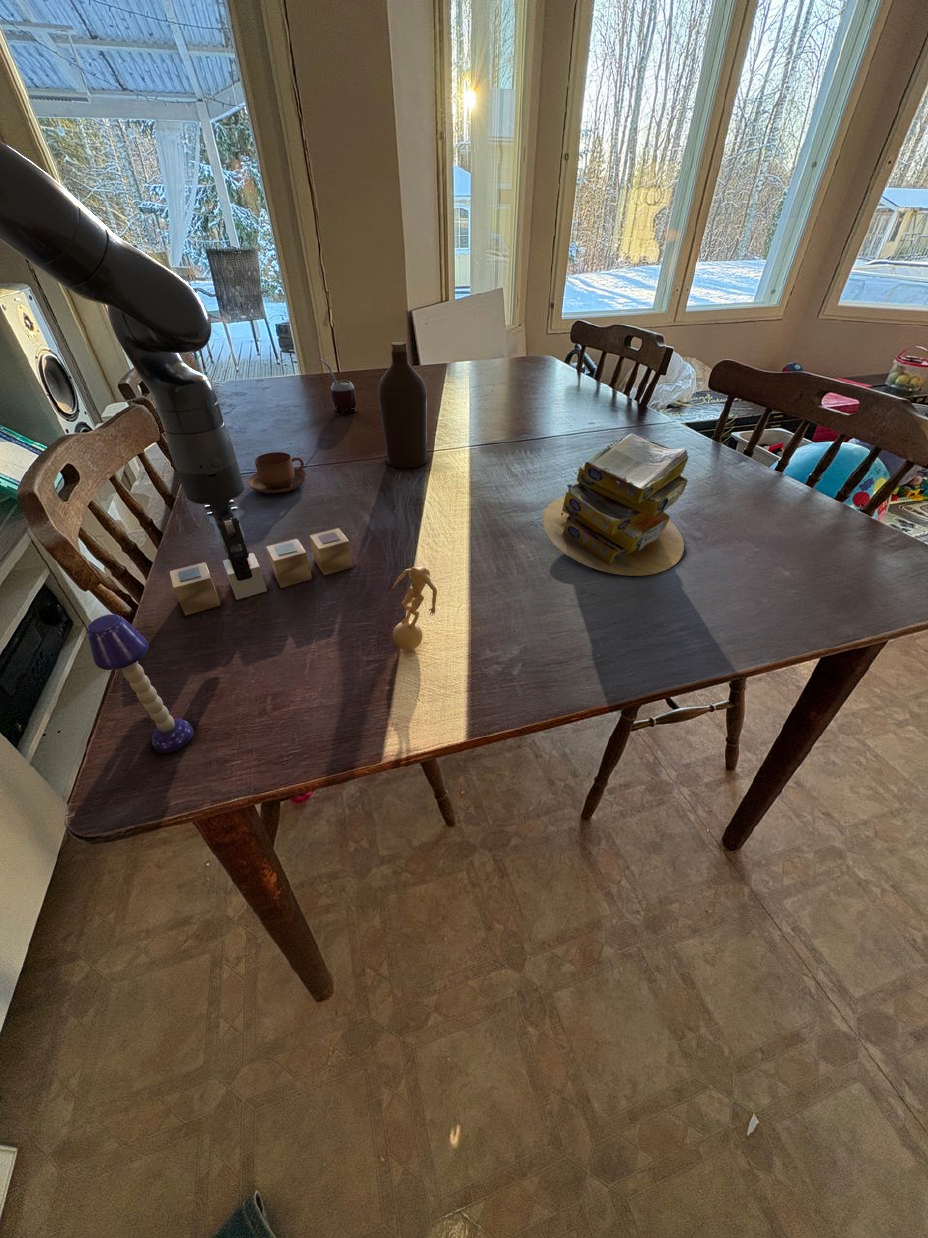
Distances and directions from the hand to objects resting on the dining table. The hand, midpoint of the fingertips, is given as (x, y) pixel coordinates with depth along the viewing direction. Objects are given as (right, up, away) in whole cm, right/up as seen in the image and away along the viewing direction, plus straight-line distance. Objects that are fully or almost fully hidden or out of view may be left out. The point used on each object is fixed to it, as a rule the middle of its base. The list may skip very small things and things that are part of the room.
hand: (239, 564), depth 77 cm
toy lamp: (+1, -22, -20) cm, 29 cm away
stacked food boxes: (+61, +6, +15) cm, 63 cm away
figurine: (+27, -12, -7) cm, 31 cm away
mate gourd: (-1, +53, +74) cm, 91 cm away
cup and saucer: (-6, +20, +33) cm, 39 cm away
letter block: (0, -3, +3) cm, 5 cm away
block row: (+3, -2, +4) cm, 6 cm away
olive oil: (+21, +29, +44) cm, 57 cm away
